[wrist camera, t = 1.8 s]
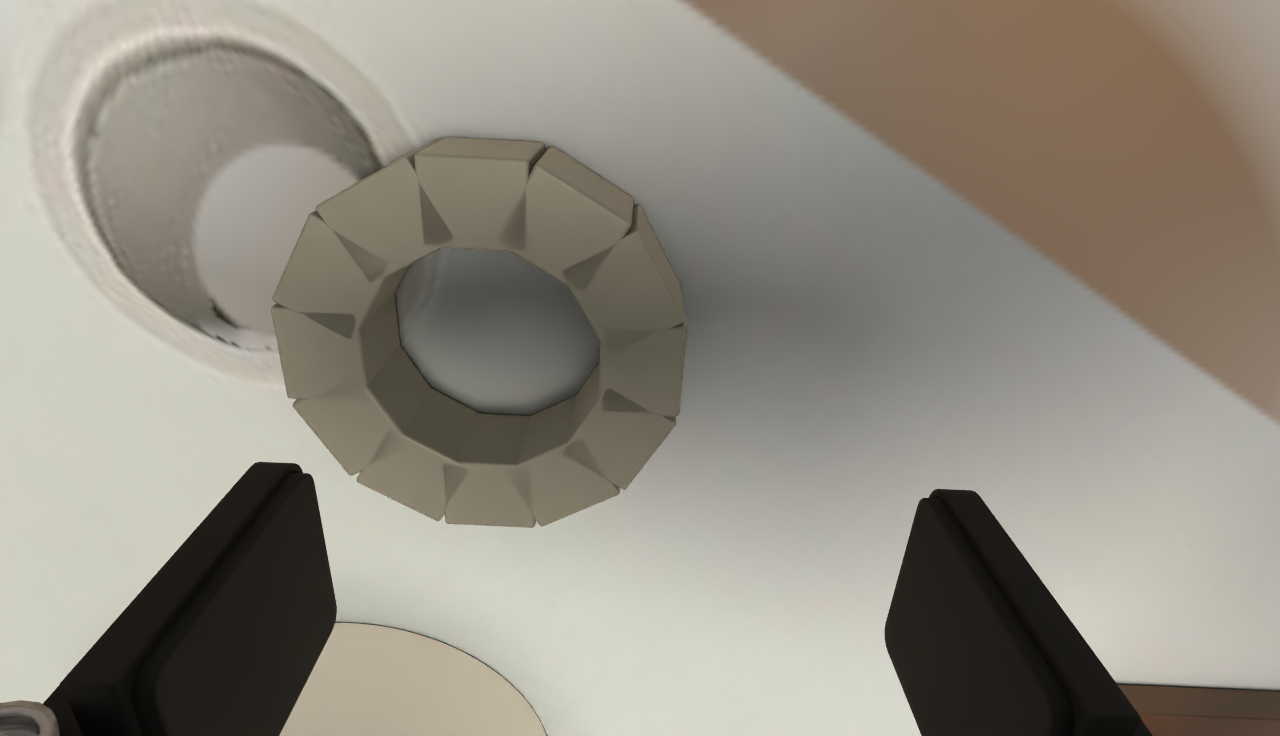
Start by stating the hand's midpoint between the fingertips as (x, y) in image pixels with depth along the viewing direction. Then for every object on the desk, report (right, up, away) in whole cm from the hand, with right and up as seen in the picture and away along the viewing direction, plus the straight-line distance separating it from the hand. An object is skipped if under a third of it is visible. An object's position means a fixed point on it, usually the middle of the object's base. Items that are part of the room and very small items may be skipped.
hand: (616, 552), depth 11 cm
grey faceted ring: (-3, +4, +8) cm, 10 cm away
